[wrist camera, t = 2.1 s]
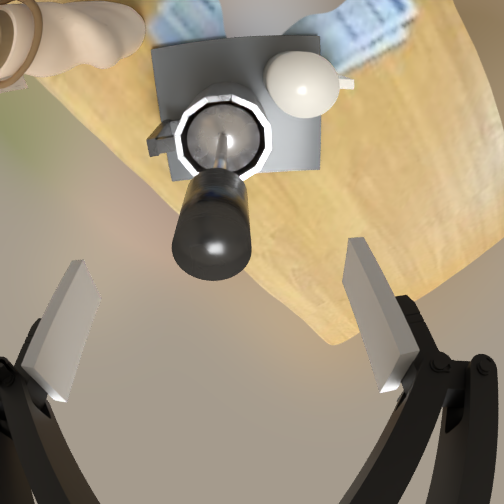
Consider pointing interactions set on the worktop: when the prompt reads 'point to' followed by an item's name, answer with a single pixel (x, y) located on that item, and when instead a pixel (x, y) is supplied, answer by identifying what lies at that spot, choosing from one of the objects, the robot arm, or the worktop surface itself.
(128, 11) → the water bottle
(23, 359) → the robot arm
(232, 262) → the plunger
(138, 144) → the worktop surface
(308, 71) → the cream mug
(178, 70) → the slate board
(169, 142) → the press carafe
